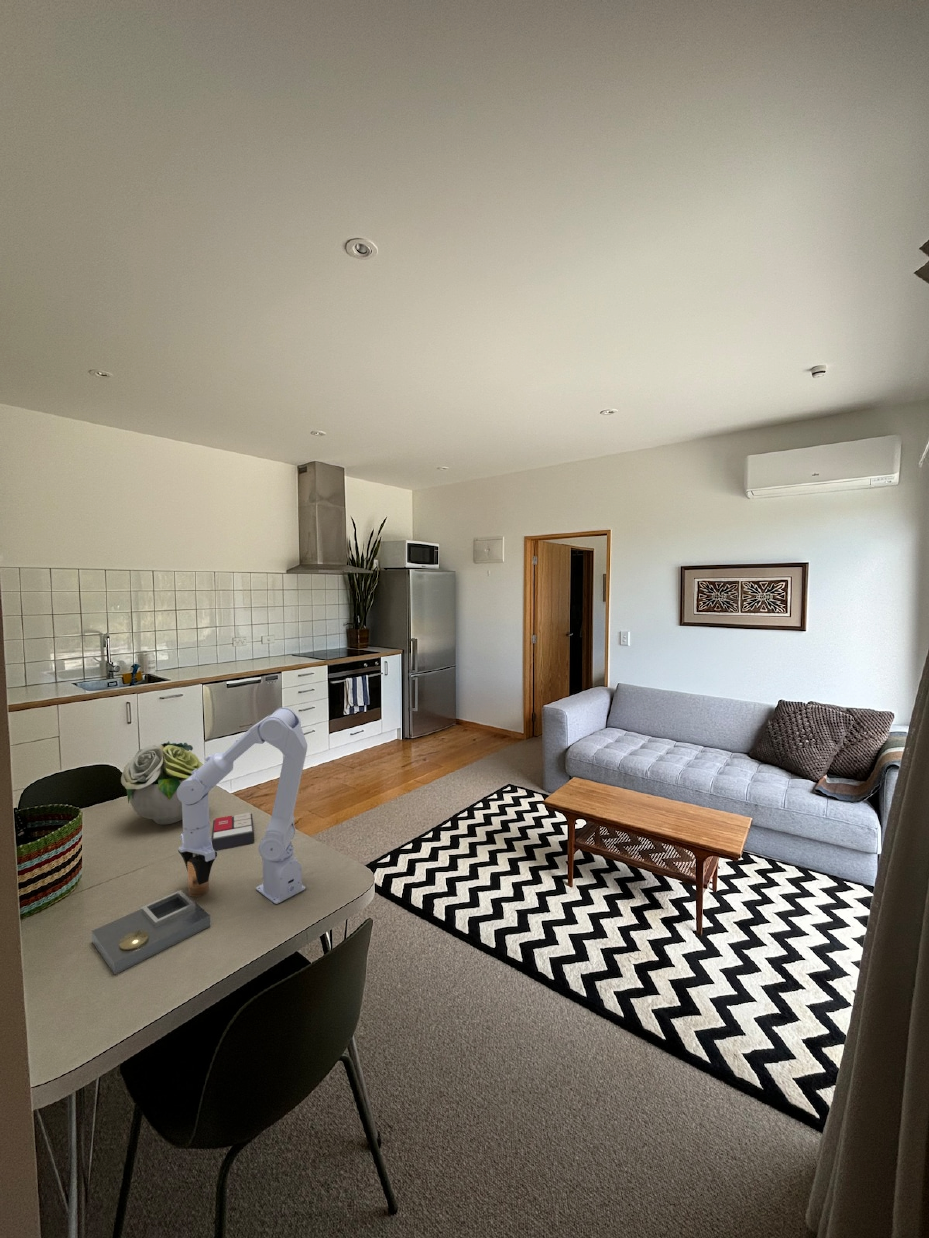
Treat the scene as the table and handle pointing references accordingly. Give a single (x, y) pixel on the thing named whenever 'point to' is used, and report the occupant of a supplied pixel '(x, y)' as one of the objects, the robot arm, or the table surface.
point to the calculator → (232, 831)
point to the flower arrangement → (159, 780)
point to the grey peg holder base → (149, 930)
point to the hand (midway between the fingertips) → (198, 878)
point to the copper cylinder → (195, 881)
